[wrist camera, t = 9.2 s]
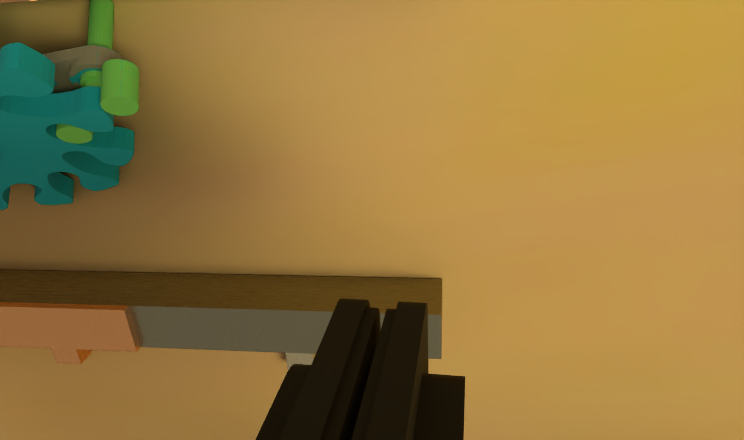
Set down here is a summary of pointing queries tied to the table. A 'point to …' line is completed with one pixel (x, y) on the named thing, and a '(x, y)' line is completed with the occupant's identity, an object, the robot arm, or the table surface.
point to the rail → (192, 310)
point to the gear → (66, 114)
